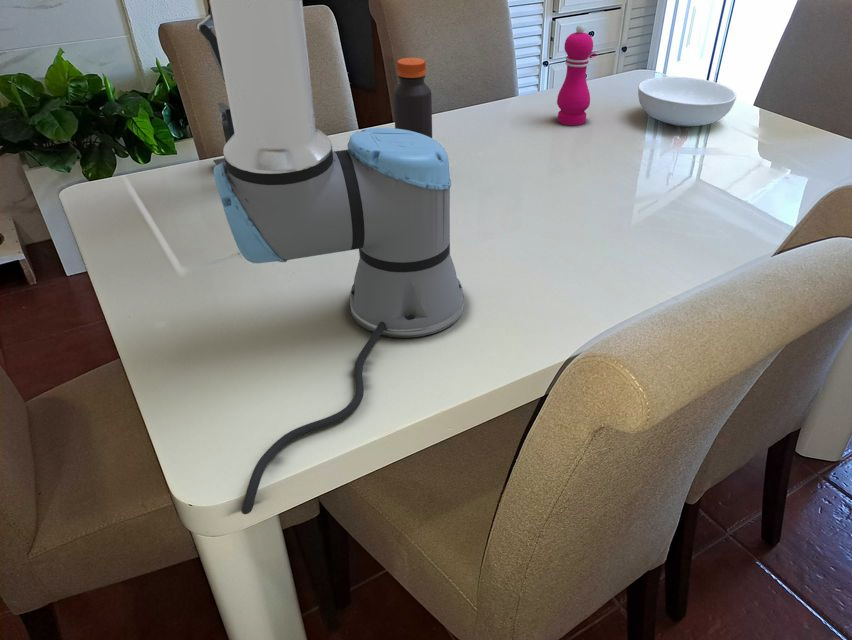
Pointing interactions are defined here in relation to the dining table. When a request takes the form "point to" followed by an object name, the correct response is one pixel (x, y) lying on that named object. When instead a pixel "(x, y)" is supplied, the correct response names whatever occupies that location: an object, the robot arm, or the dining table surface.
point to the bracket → (225, 126)
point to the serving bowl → (685, 100)
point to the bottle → (413, 97)
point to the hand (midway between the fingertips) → (256, 126)
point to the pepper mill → (575, 79)
